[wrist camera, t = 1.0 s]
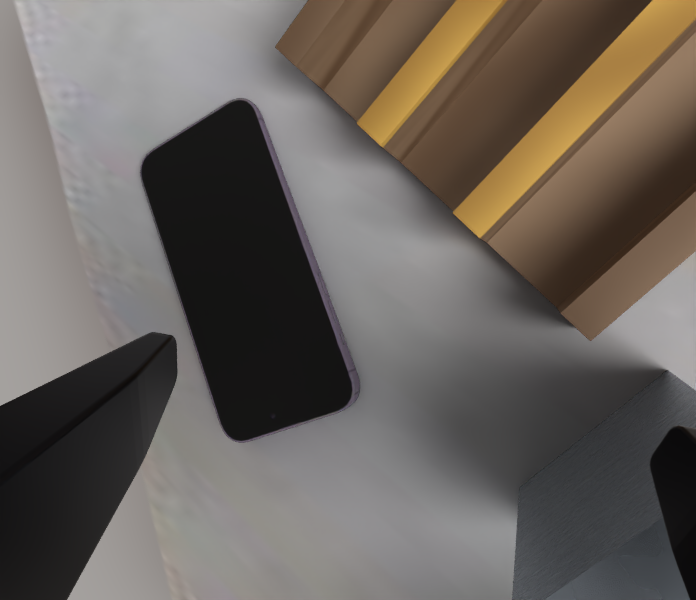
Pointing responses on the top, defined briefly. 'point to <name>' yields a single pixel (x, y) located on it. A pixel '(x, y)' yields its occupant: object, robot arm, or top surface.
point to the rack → (531, 127)
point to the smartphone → (247, 276)
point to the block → (604, 509)
